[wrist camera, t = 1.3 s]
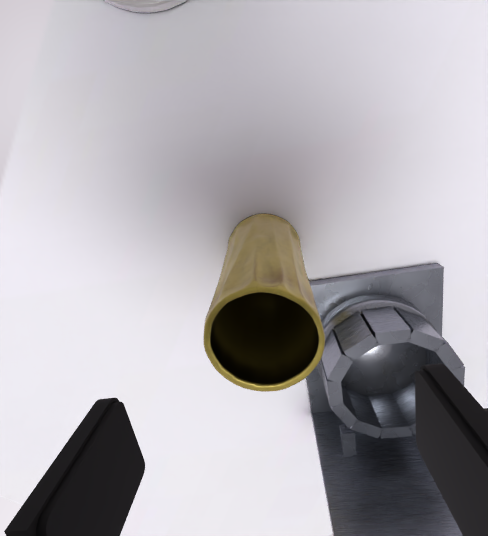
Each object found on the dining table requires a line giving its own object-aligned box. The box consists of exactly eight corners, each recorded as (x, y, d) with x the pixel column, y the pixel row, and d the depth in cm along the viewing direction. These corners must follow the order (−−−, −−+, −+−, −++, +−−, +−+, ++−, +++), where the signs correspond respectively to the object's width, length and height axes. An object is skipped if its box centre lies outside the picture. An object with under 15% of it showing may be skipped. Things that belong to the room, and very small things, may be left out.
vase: (233, 207, 26) (200, 264, 12) (307, 219, 26) (354, 290, 12) (223, 276, 28) (185, 388, 14) (292, 287, 28) (318, 410, 14)
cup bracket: (292, 283, 28) (312, 371, 16) (437, 263, 26) (567, 344, 15) (311, 417, 33) (336, 556, 21) (434, 405, 31) (531, 548, 20)
